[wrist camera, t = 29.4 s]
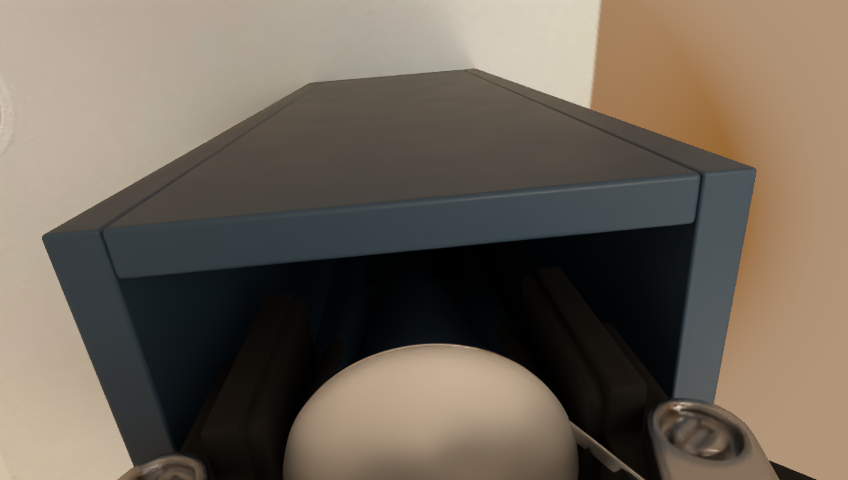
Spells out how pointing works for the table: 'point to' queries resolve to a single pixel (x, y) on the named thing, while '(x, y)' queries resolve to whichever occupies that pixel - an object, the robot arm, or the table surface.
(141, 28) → the table surface
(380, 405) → the milkshake
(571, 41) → the table surface
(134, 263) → the box
